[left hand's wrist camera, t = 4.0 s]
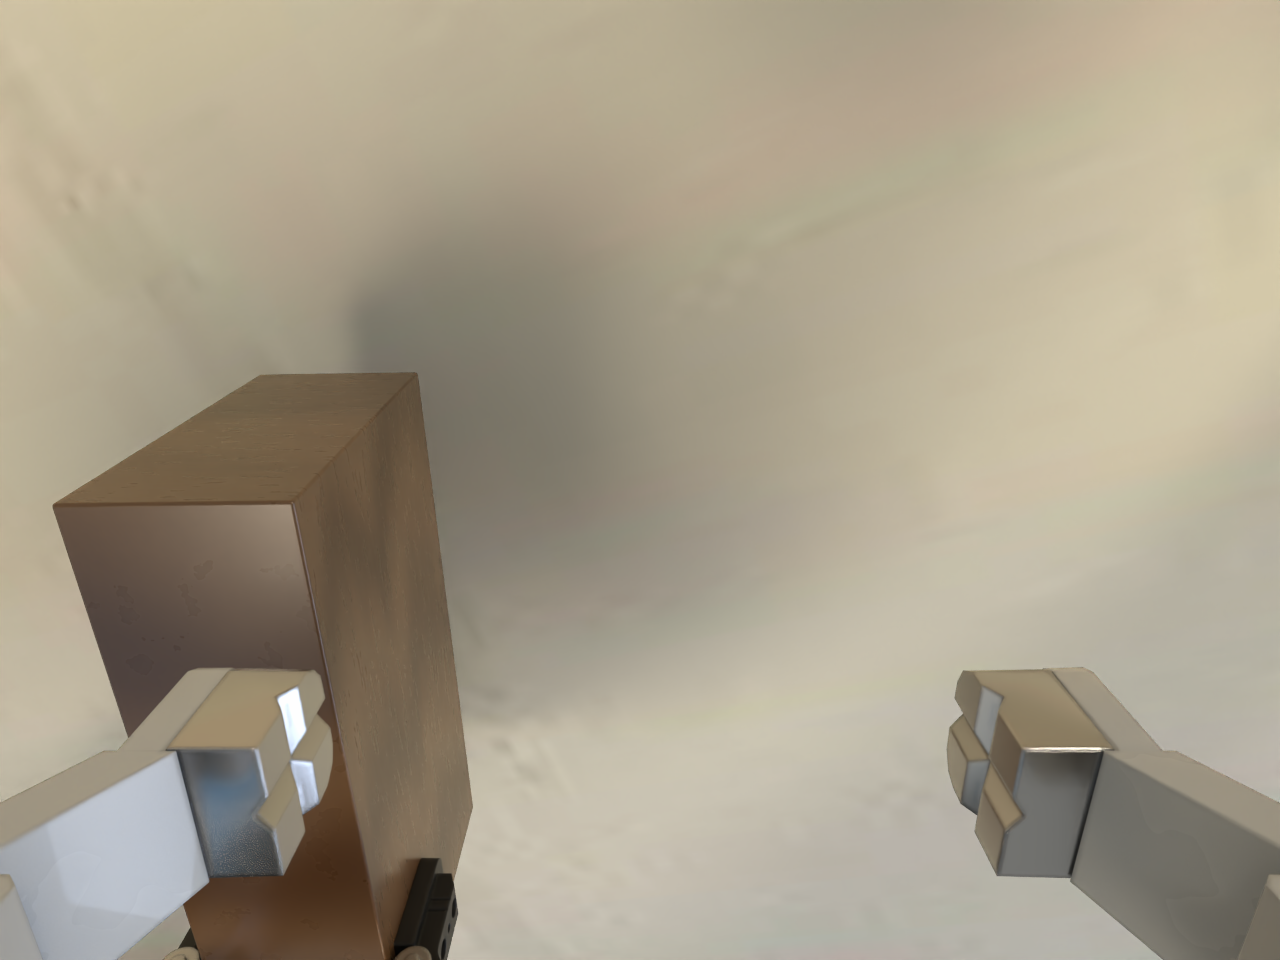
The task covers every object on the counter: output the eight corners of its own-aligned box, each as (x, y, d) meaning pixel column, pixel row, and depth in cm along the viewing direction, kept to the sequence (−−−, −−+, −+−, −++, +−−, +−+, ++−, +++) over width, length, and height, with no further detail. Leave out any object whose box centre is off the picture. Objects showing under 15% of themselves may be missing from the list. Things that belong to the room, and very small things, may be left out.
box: (259, 374, 30) (49, 504, 20) (418, 371, 30) (293, 501, 19) (348, 807, 38) (234, 1064, 28) (473, 807, 38) (406, 1064, 28)
